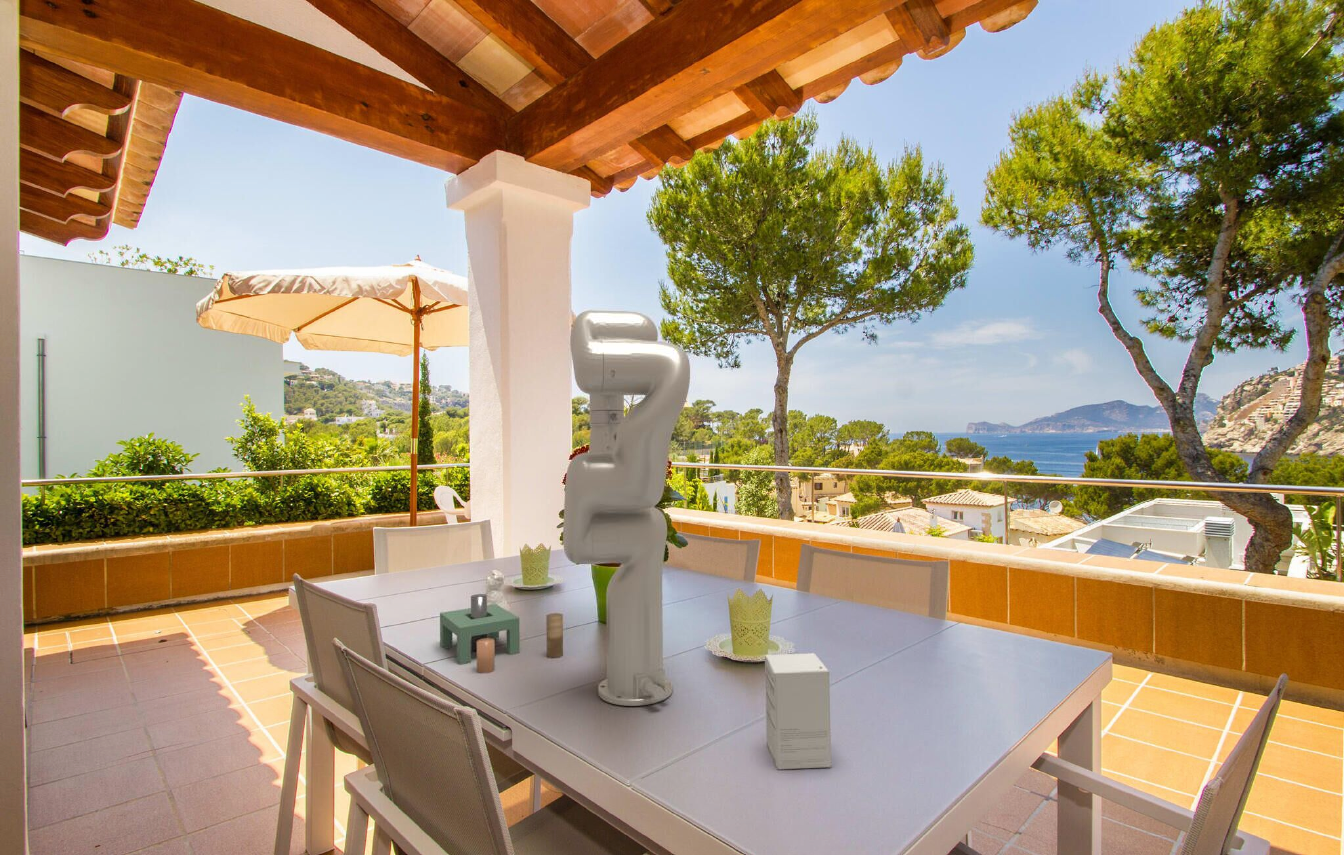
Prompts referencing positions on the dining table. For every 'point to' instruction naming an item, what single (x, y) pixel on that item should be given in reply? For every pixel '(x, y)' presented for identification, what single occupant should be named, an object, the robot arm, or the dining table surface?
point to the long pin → (478, 615)
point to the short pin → (485, 655)
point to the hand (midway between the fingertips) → (607, 497)
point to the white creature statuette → (496, 590)
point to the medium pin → (554, 635)
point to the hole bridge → (478, 629)
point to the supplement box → (798, 711)
